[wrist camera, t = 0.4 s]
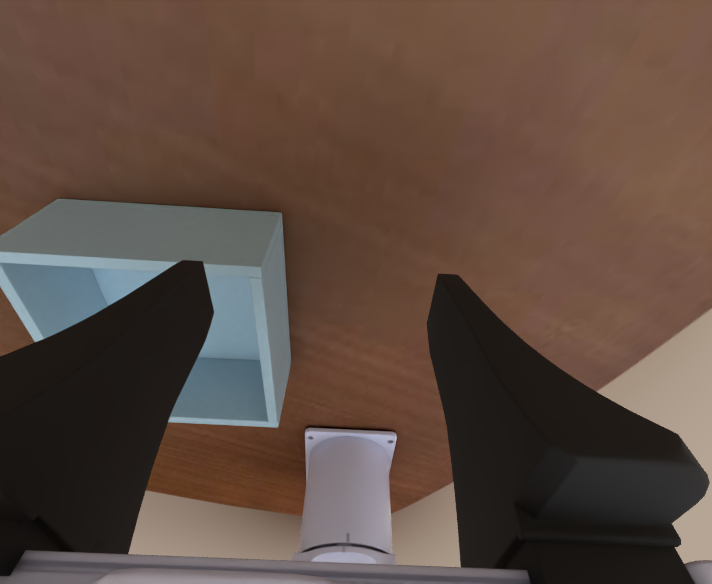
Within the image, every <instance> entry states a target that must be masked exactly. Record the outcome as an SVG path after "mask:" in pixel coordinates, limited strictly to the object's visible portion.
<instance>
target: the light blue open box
mask: <svg viewBox="0 0 712 584" xmlns="http://www.w3.org/2000/svg"><path fill="white" fill-rule="evenodd" d="M182 260H193V261H203V264H204V268H205V273H206V277H207V282H208V286H209V291H210V295H211V300H212V304H213V309H214V315H213V319H212V322H211V326H210V329H209V332H208V335H207V338H206V341H205V343H204V345H203V347H202V349H201V351H200V354H199V356H198V358H197V360H196V362H195V364H194V366H193V368H192V370H191V372H190V374H189V376H188V378H187V380H186V382H185V384H184V387H183V389H182V391H181V393H180V395H179V397H178V399H177V401H176V403H175V406H174V408H173V410H172V413H171V415H170V418H169V421H168V422H177V423H197V424H217V425H238V426H258V427H278V425H279V420H280V415H281V410H282V405H283V400H284V396H285V391H286V386H287V381H288V376H289V371H290V366H291V352H290V336H289V320H288V304H287V288H286V271H285V255H284V239H283V223H282V213H281V212H266V211H250V210H234V209H218V208H202V207H186V206H170V205H154V204H138V203H122V202H106V201H90V200H74V199H57V200H55V201H54V202H52V203H50V204H49V205H47V206H46V207H44V208H43V209H41V210H40V211H38V212H36V213H35V214H33V215H32V216H30V217H29V218H27V219H26V220H24V221H23V222H21V223H20V224H18V225H17V226H15V227H13V228H12V229H10V230H9V231H7V232H6V233H4V234H3V235H1V236H0V287H1V288H2V290H3V291H4V293H5V295H6V296H7V298H8V299H9V301H10V303H11V304H12V306H13V308H14V309H15V311H16V312H17V314H18V316H19V317H20V319H21V320H22V322H23V324H24V325H25V327H26V328H27V330H28V332H29V333H30V335H31V336H32V338H33V340H34V341H35V342H37V341H40V340H42V339H45V338H47V337H49V336H51V335H54V334H56V333H58V332H60V331H62V330H64V329H66V328H68V327H70V326H72V325H74V324H77V323H78V322H80V321H82V320H84V319H86V318H88V317H90V316H92V315H94V314H95V313H97V312H99V311H101V310H102V309H104V308H106V307H107V306H109V305H111V304H113V303H114V302H116V301H118V300H119V299H121V298H123V297H124V296H126V295H128V294H129V293H131V292H132V291H134V290H136V289H137V288H139V287H140V286H142V285H143V284H145V283H147V282H148V281H150V280H151V279H153V278H154V277H156V276H157V275H159V274H160V273H162V272H164V271H165V270H167V269H168V268H170V267H171V266H173V265H175V264H176V263H178V262H180V261H182Z"/></svg>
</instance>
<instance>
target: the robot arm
mask: <svg viewBox="0 0 712 584" xmlns="http://www.w3.org/2000/svg"><path fill="white" fill-rule="evenodd" d="M213 315H214V309H213V304H212V300H211V295H210V291H209V286H208V282H207V277H206V273H205V268H204V264H203V261H193V260H182V261H180V262H178V263H176V264H175V265H173V266H171V267H170V268H168V269H167V270H165V271H164V272H162V273H160V274H159V275H157V276H156V277H154V278H153V279H151V280H150V281H148V282H147V283H145V284H143V285H142V286H140V287H139V288H137V289H136V290H134V291H132V292H131V293H129V294H128V295H126V296H124V297H123V298H121V299H119V300H118V301H116V302H114V303H113V304H111V305H109V306H107V307H106V308H104V309H102V310H101V311H99V312H97V313H95V314H94V315H92V316H90V317H88V318H86V319H84V320H82V321H80V322H78V323H77V324H74V325H72V326H70V327H68V328H66V329H64V330H62V331H60V332H58V333H56V334H54V335H51V336H49V337H47V338H45V339H42V340H40V341H37V342H35V343H33V344H30V345H28V346H25V347H23V348H21V349H18V350H16V351H13V352H11V353H9V354H6V355H3V356H1V357H0V584H712V561H710V560H709V561H708V560H703V561H694V562H689V563H686V564H684V563H683V562H682V560H681V558H680V556H679V555H678V553H677V551H676V549H675V547H678V546H679V545H681V539H680V537H679V536H678V534H677V532H676V530H675V529H674V527H673V525H672V524H671V523H673V522H674V521H675V520H676V519H678V518H679V517H680V516H681V515H683V514H684V513H685V512H687V511H688V510H689V509H690V508H692V507H693V506H694V505H696V504H697V503H698V502H699V501H700V500H701V499H702V498H703V497H704V496H705V494H706V491H707V488H708V486H709V479H708V475H707V474H706V472H705V471H704V470H703V468H702V467H701V465H700V464H699V463H698V461H697V460H696V458H695V457H694V456H693V454H692V453H691V452H690V450H689V449H688V447H687V446H686V445H685V443H684V442H683V441H682V439H681V438H680V437H679V435H678V434H676V433H674V432H672V431H670V430H668V429H666V428H664V427H662V426H660V425H658V424H656V423H654V422H652V421H650V420H648V419H646V418H643V417H641V416H640V415H637V414H636V413H633V412H631V411H629V410H628V409H626V408H624V407H622V406H620V405H618V404H617V403H615V402H613V401H611V400H610V399H608V398H606V397H604V396H602V395H601V394H599V393H597V392H596V391H594V390H592V389H591V388H589V387H587V386H586V385H584V384H582V383H581V382H579V381H578V380H576V379H575V378H573V377H572V376H570V375H569V374H567V373H566V372H564V371H563V370H561V369H560V368H558V367H557V366H556V365H554V364H553V363H551V362H550V361H549V360H547V359H546V358H545V357H543V356H542V355H541V354H539V353H538V352H537V351H536V350H534V349H533V348H532V347H530V346H529V345H528V344H527V343H526V342H524V341H523V340H522V339H521V338H520V337H519V336H517V335H516V334H515V333H514V332H513V331H512V330H511V329H510V328H509V327H508V326H506V325H505V324H504V323H503V322H502V321H501V320H500V319H499V318H498V317H497V316H496V315H495V314H494V313H493V312H492V311H491V310H490V309H489V308H488V307H487V306H486V305H485V304H484V303H483V302H482V300H481V299H480V298H479V297H478V296H477V295H476V294H475V293H474V292H473V291H472V290H471V288H470V287H469V286H468V285H467V284H466V283H465V282H464V281H463V280H462V279H461V278H460V277H459V276H458V275H452V274H438V276H437V281H436V285H435V290H434V294H433V299H432V303H431V308H430V312H429V317H428V321H427V329H428V340H429V349H430V355H431V359H432V364H433V368H434V372H435V376H436V380H437V385H438V389H439V393H440V397H441V401H442V405H443V410H444V414H445V419H446V424H447V431H448V439H449V446H450V454H451V463H452V472H453V481H454V490H455V500H456V511H457V522H458V533H459V547H460V561H461V568H460V567H436V566H435V567H434V566H409V565H396V555H395V554H393V549H392V528H391V509H390V490H389V471H390V466H391V462H392V457H393V453H394V448H395V444H396V439H397V436H396V433H394V432H389V431H369V430H349V429H329V428H307V429H306V430H305V453H306V480H307V484H306V493H305V501H304V509H303V518H302V526H301V535H300V543H299V552H298V553H294V554H293V561H285V560H259V559H234V558H208V557H183V556H182V557H181V556H158V555H131V554H128V552H129V549H130V545H131V541H132V537H133V533H134V530H135V526H136V522H137V518H138V514H139V511H140V507H141V504H142V500H143V497H144V494H145V490H146V487H147V484H148V480H149V477H150V474H151V471H152V468H153V464H154V461H155V458H156V455H157V452H158V449H159V446H160V443H161V440H162V437H163V435H164V432H165V429H166V426H167V423H168V421H169V418H170V415H171V413H172V410H173V408H174V406H175V403H176V401H177V399H178V397H179V395H180V393H181V391H182V389H183V387H184V384H185V382H186V380H187V378H188V376H189V374H190V372H191V370H192V368H193V366H194V364H195V362H196V360H197V358H198V356H199V354H200V351H201V349H202V347H203V345H204V343H205V341H206V338H207V335H208V332H209V329H210V326H211V322H212V319H213Z"/></svg>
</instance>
